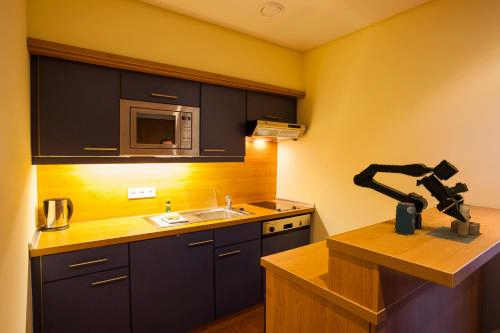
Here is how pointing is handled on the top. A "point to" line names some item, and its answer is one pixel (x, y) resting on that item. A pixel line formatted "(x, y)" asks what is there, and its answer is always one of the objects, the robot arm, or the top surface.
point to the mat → (451, 235)
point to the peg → (465, 226)
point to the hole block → (472, 231)
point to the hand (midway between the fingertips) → (468, 220)
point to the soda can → (405, 218)
